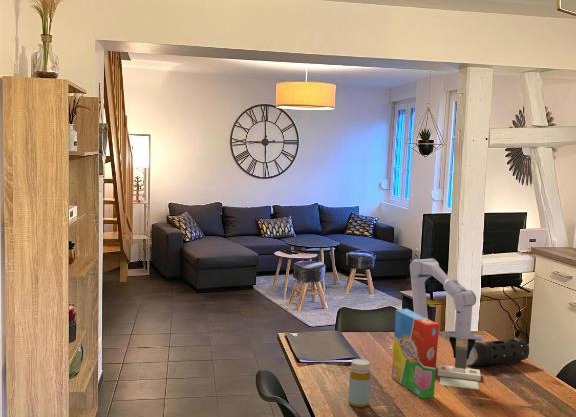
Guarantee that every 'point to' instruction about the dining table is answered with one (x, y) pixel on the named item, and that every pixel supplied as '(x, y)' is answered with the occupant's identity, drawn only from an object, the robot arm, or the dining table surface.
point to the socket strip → (459, 372)
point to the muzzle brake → (498, 352)
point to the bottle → (359, 383)
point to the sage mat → (459, 383)
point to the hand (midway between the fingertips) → (460, 357)
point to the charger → (461, 357)
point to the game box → (415, 352)
